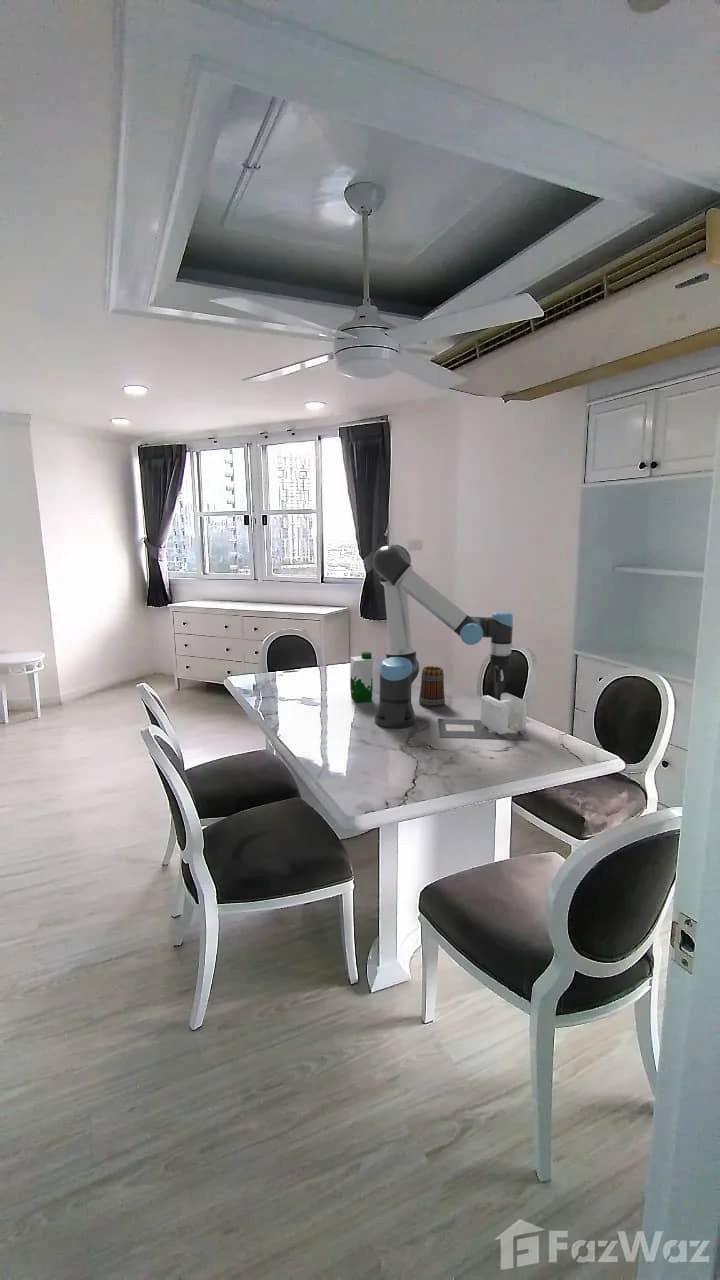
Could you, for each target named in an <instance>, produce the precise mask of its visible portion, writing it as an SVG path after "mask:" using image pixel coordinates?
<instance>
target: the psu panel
mask: <svg viewBox="0 0 720 1280" xmlns="http://www.w3.org/2000/svg"><path fill="white" fill-rule="evenodd" d="M437 722H438V723H437V724H438V732H439V733H438V734H439V738H449V739H450V738H452V739H480V740H482V739H483V740H484V739H485V740H503V741H504V740H507V741H508V740H509V741H510V740H511V741H530V740H529V738H528V735H527V734H526V732H525V730H523V731H517V730H515V729H514V728H513V727H511V726H508V732H507V733H506V734H498V733H496V732H495V731H494V730H492V729H489V728H487V727H485V725H483V724H482V723H481V719H463V718H462V719H461V718H460V719H458V718H457V719H456V718H437Z"/></svg>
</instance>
